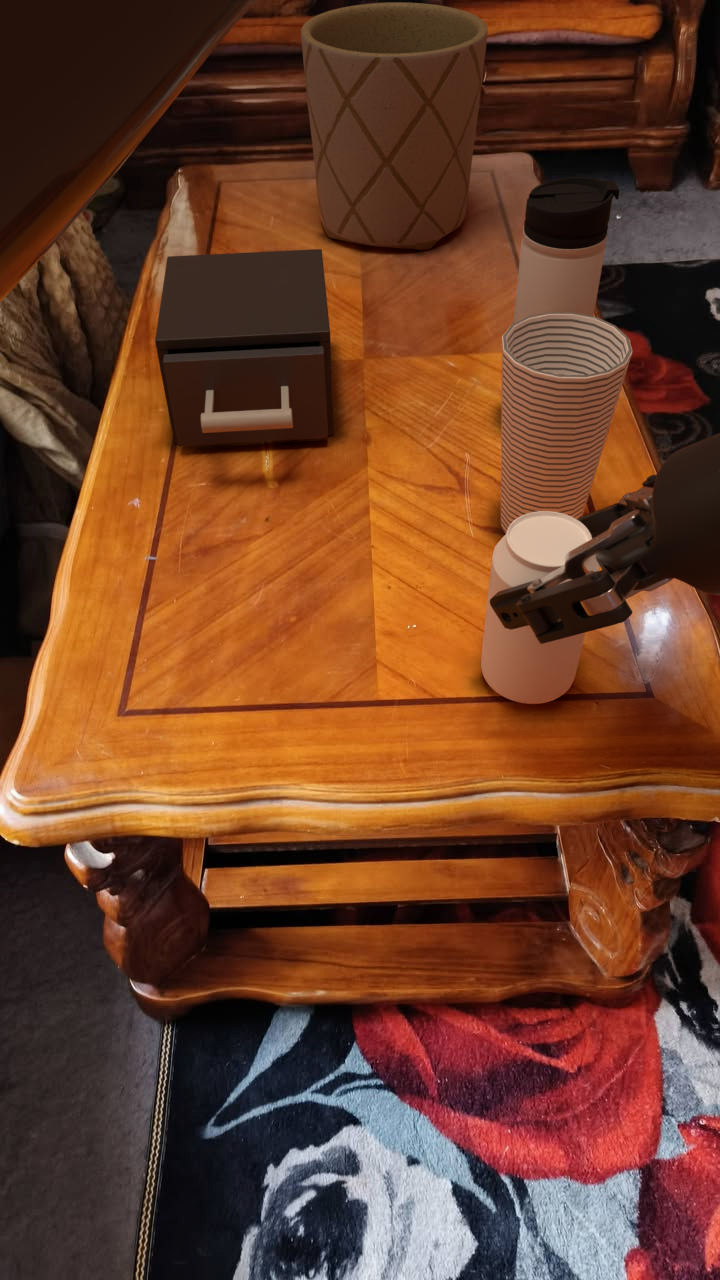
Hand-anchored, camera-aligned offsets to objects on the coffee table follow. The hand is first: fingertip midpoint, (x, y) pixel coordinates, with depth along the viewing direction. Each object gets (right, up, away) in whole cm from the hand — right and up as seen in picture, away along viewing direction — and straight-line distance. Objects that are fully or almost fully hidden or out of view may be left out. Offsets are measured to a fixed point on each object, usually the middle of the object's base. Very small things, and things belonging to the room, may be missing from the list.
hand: (541, 573), depth 57 cm
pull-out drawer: (-20, +16, +26) cm, 37 cm away
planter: (-7, +45, +55) cm, 71 cm away
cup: (+3, +5, +17) cm, 18 cm away
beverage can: (0, -6, +7) cm, 9 cm away
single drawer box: (-20, +19, +31) cm, 41 cm away
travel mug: (+5, +15, +27) cm, 31 cm away
